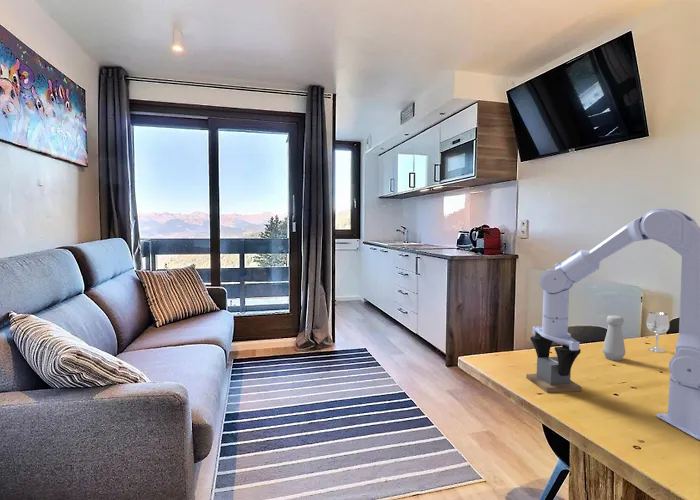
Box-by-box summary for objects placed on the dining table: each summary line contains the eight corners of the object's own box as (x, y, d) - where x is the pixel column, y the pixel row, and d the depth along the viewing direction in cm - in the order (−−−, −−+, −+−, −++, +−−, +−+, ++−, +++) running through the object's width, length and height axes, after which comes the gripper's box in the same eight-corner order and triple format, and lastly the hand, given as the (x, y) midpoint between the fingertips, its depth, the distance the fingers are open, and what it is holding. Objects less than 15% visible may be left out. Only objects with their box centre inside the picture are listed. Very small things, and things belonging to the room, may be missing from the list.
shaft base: (581, 390, 95) (582, 373, 94) (546, 392, 94) (547, 375, 93) (558, 376, 103) (558, 361, 103) (526, 377, 103) (526, 362, 102)
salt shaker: (628, 362, 114) (631, 318, 113) (607, 361, 115) (609, 318, 114) (619, 356, 120) (621, 314, 119) (598, 354, 121) (600, 313, 120)
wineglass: (640, 348, 127) (642, 312, 127) (653, 346, 129) (655, 310, 128) (659, 353, 122) (661, 316, 121) (672, 352, 124) (674, 314, 123)
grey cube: (570, 383, 96) (570, 363, 96) (550, 385, 95) (551, 364, 95) (555, 375, 102) (555, 356, 101) (536, 376, 101) (537, 357, 100)
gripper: (591, 323, 91) (589, 379, 92) (549, 309, 105) (548, 358, 106) (565, 324, 90) (563, 381, 91) (526, 310, 104) (524, 360, 105)
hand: (553, 369), depth 98 cm, fingers open, 7 cm apart
